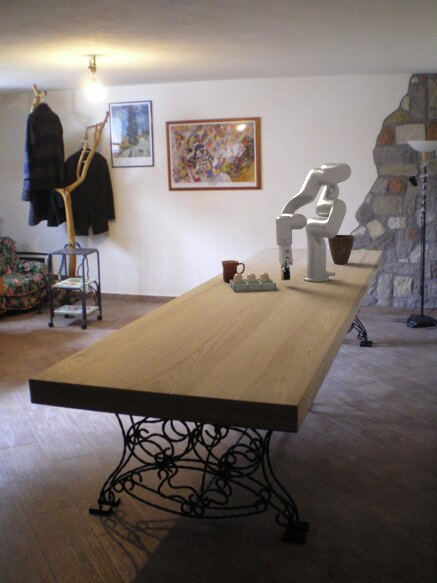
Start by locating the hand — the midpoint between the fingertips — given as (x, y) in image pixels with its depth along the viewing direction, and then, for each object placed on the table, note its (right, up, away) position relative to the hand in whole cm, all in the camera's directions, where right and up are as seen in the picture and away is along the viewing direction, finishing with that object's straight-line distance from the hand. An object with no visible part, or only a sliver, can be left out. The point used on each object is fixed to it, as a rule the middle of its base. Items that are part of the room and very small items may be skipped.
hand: (285, 278), depth 321 cm
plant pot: (+38, +10, +62) cm, 74 cm away
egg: (0, -1, 0) cm, 1 cm away
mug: (-25, -2, +16) cm, 30 cm away
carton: (-16, -5, -2) cm, 17 cm away
